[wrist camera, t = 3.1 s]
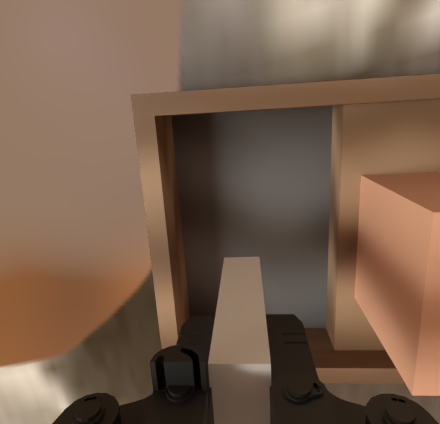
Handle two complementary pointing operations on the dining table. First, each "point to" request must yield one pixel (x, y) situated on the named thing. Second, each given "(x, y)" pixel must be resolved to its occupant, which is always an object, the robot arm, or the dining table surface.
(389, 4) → the dining table surface
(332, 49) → the dining table surface
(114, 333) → the dining table surface
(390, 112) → the trap box
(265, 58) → the dining table surface
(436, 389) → the block
